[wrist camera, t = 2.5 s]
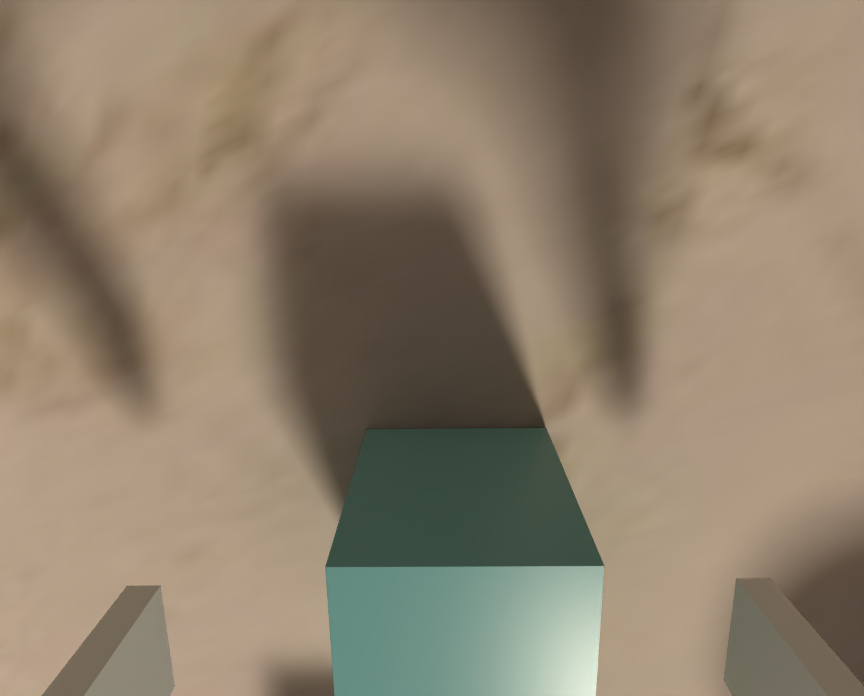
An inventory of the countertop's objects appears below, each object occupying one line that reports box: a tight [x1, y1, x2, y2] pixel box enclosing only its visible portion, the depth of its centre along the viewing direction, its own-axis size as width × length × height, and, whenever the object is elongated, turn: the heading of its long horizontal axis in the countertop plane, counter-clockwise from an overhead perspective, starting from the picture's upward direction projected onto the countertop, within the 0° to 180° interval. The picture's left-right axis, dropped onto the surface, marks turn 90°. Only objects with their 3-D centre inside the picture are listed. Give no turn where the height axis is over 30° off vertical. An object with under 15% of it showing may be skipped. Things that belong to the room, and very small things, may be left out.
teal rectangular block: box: [325, 428, 604, 696], centre depth 15 cm, size 5×5×7 cm
